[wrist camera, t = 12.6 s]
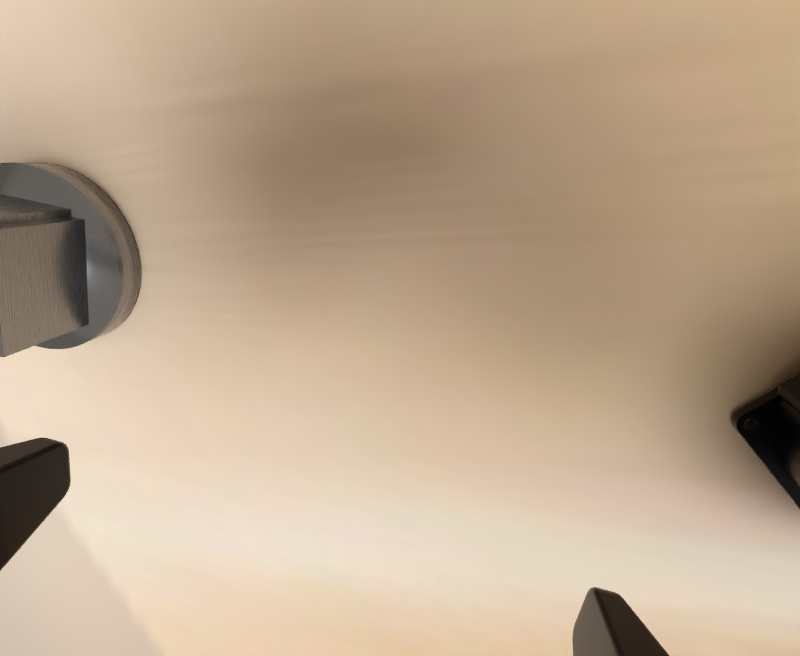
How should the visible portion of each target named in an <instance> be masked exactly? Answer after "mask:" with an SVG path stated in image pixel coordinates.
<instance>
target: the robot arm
mask: <svg viewBox="0 0 800 656" xmlns="http://www.w3.org/2000/svg"><path fill="white" fill-rule="evenodd" d="M750 418H752V419H753V421H752V422H751V423H750V424H749V425H743V424H744V422H745V421H746V420H747V419H750ZM732 424H733V426H734V428H735V429H736V430H737V431H738V433H739V434H740V435H741V436H742V438H743V439H744V440H745V441H746V443H747V444H748V445H749V446H750V448H751V449H752V450H753V451H754V453H755V454H756V455H757V456H758V458H759V459H760V460H761V461H762V463H763V464H764V465H765V466H766V468H767V469H768V470H769V471H770V473H771V474H772V475H773V476H774V478H775V479H776V480H777V481H778V483H779V484H780V485H781V486H782V488H783V489H784V490H785V491H786V493H787V494H788V495H789V496H790V498H791V499H792V500H793V501H794V503H795V504H796V505H797V506H798V508H799V509H800V374H799V375H797V376H795V377H793V378H792V379H790V380H788V381H786V382H785V383H783V384H781V386H780V387H779V388H777V389H775V390H773V391H771V392H770V393H768V394H766V395H764V396H763V397H761V398H759V399H757V400H755V401H754V402H752V403H750V404H748V405H747V406H745V407H743V408H741V409H739V410H738V411H737V412H735V413H734V415H733V416H732ZM70 481H71V479H70V463H69V450H68V447H67V446H66V444H64V443H62V442H59V441H56V440H52V439H48V438H37V439H33V440H29V441H25V442H21V443H17V444H13V445H9V446H5V447H1V448H0V570H1V569H2V568H3V567H4V566H5V565H6V564H7V563H8V561H9V560H10V559H11V558H12V557H13V556H14V554H15V553H16V552H17V551H18V550H19V549H20V548H21V546H22V545H23V544H24V543H25V542H26V541H27V539H28V538H29V537H30V536H31V535H32V533H33V532H34V531H35V530H36V529H37V528H38V527H39V526H40V524H41V523H42V522H43V521H44V520H45V519H46V517H47V516H48V515H49V514H50V513H51V512H52V510H53V509H54V508H55V507H56V506H57V505H58V503H59V502H60V501H61V500H62V499H63V498H64V496H65V495H66V493H67V491H68V489H69V487H70ZM573 656H669V655H668V653H667V652H666V651H665V650H664V649H663V647H662V646H661V645H660V644H659V642H658V641H657V640H656V639H655V637H654V636H653V635H652V634H651V632H650V631H649V630H648V629H647V627H646V626H645V625H644V624H643V622H642V621H641V620H640V619H639V617H638V616H637V615H636V614H635V613H634V611H633V610H632V609H631V608H630V606H629V605H628V604H627V603H626V601H625V600H624V599H623V598H622V597H621V596H620V595H619V594H617V593H615V592H611V591H608V590H604V589H600V588H597V587H594V588H591V589H590V590H589V591H588V593H587V595H586V597H585V600H584V602H583V605H582V607H581V610H580V612H579V615H578V617H577V620H576V622H575V625H574V630H573Z"/></svg>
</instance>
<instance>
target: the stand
mask: <svg viewBox="0 0 800 656" xmlns="http://www.w3.org/2000/svg"><path fill="white" fill-rule="evenodd" d="M140 280H141V267H140V259H139V253H138V249H137V245H136V242H135V239H134V236H133V234H132V232H131V229H130V227H129V225H128V223H127V221H126V219H125V218H124V216H123V214H122V213H121V211H120V210H119V209H118V207H117V206H116V204H115V203H114V202H113V201H112V200H111V199H110V197H109V196H108V195H107V194H106V193H105V192H104V191H103V190H102V189H101V188H100V187H98V186H97V185H96V184H95V183H93V182H92V181H91V180H89V179H88V178H86V177H84V176H83V175H81V174H79V173H78V172H75V171H73V170H71V169H68V168H66V167H62V166H58V165H54V164H46V163H1V164H0V357H6V356H8V355H11V354H14V353H16V352H19V351H21V350H24V349H27V348H29V347H32V346H34V345H35V346H38V347H43V348H49V349H65V348H71V347H75V346H78V345H81V344H83V343H85V342H88V341H90V340H92V339H95V338H97V337H99V336H102V335H104V334H106V333H109V332H111V331H112V330H114V329H115V328H117V327H118V326H119V325H120V324H122V323H123V322H124V321H125V319H126V318H127V317H128V316H129V314H130V313H131V311H132V309H133V307H134V305H135V303H136V300H137V297H138V294H139V288H140Z"/></svg>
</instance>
